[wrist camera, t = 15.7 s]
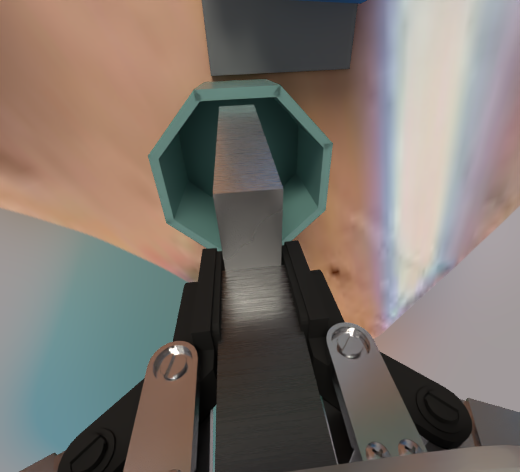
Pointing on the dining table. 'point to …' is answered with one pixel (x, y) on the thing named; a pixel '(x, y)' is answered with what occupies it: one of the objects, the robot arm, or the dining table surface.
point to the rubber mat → (278, 35)
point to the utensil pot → (204, 151)
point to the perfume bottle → (340, 0)
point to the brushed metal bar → (259, 318)
